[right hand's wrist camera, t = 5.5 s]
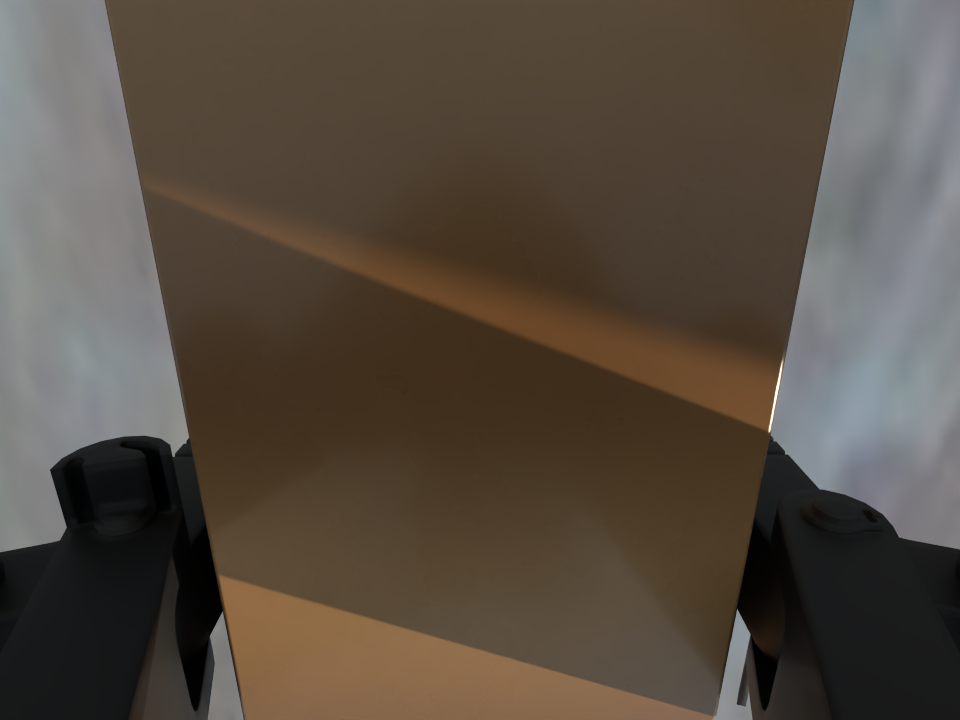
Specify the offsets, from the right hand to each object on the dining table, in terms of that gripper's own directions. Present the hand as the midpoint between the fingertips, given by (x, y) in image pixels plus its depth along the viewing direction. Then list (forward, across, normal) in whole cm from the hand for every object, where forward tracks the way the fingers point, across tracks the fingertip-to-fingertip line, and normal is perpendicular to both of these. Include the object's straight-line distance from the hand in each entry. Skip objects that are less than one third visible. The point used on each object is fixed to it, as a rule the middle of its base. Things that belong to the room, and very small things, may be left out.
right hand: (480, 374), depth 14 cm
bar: (+1, 0, -13) cm, 13 cm away
